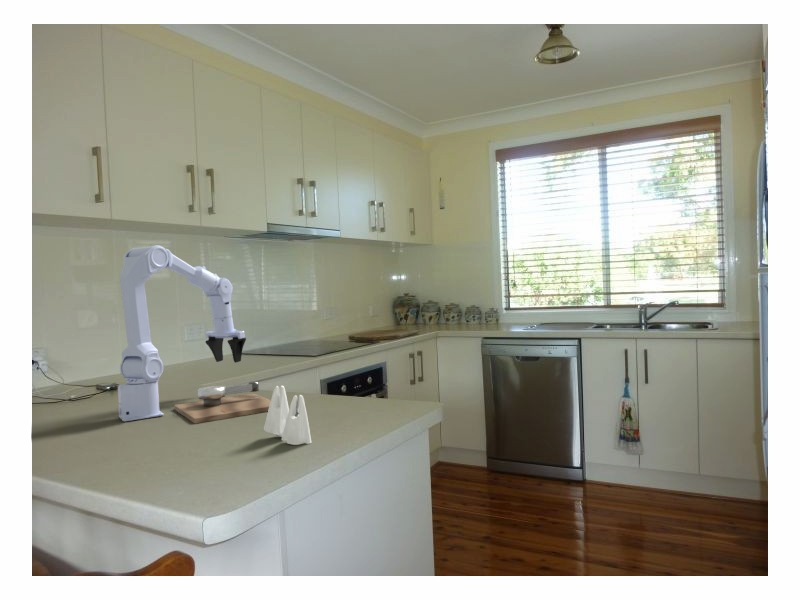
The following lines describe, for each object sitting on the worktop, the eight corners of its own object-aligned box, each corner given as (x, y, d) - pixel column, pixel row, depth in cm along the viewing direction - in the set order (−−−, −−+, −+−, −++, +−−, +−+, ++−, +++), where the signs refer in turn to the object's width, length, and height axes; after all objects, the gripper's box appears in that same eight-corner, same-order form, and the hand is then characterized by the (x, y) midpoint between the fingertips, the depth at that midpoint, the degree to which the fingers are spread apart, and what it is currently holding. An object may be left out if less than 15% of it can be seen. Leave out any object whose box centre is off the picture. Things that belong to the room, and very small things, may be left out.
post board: (195, 423, 134) (194, 411, 134) (174, 409, 153) (173, 398, 152) (282, 409, 146) (281, 397, 146) (253, 397, 165) (253, 387, 165)
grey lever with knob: (202, 400, 145) (201, 391, 145) (195, 397, 151) (194, 388, 151) (263, 391, 154) (262, 383, 154) (254, 388, 160) (253, 380, 160)
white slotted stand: (262, 438, 118) (260, 385, 118) (280, 433, 121) (277, 382, 121) (295, 447, 110) (292, 391, 109) (313, 442, 113) (310, 387, 112)
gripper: (249, 314, 170) (255, 358, 171) (215, 315, 177) (221, 357, 178) (232, 318, 164) (238, 364, 165) (197, 319, 171) (204, 363, 172)
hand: (228, 361), depth 171 cm, fingers open, 7 cm apart
